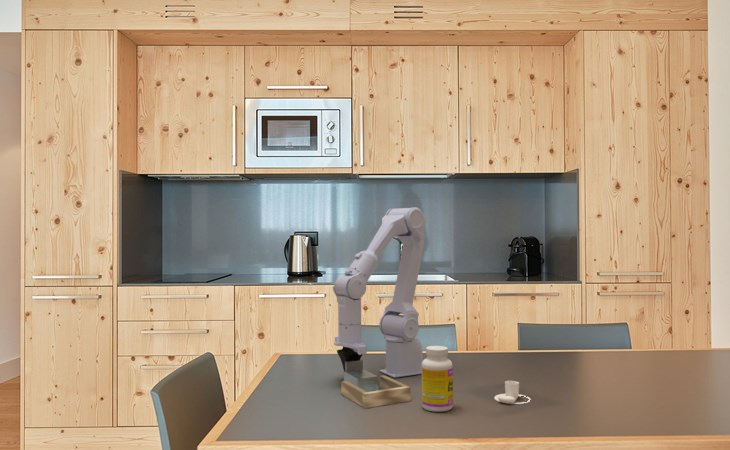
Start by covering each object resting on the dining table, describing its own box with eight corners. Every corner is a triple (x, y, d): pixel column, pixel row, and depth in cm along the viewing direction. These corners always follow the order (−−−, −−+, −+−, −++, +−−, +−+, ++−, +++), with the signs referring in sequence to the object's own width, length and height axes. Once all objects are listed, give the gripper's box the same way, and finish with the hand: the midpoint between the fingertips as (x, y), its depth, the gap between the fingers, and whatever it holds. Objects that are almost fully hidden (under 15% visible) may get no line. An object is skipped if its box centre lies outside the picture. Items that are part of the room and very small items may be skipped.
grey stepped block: (343, 387, 142) (342, 361, 142) (363, 384, 145) (363, 359, 145) (357, 395, 135) (357, 368, 135) (378, 392, 137) (378, 365, 137)
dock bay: (384, 387, 141) (384, 375, 141) (410, 400, 130) (410, 387, 130) (341, 394, 136) (341, 381, 136) (364, 408, 125) (364, 394, 125)
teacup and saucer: (507, 408, 125) (507, 389, 125) (484, 399, 132) (483, 381, 132) (538, 402, 129) (538, 384, 129) (514, 394, 136) (513, 376, 136)
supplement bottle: (452, 413, 121) (451, 351, 121) (420, 412, 122) (419, 350, 122) (454, 404, 128) (453, 345, 128) (423, 402, 129) (422, 344, 129)
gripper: (323, 320, 150) (324, 373, 150) (347, 329, 137) (348, 387, 137) (348, 318, 153) (349, 370, 153) (374, 326, 140) (374, 383, 140)
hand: (350, 378), depth 145 cm, fingers closed
